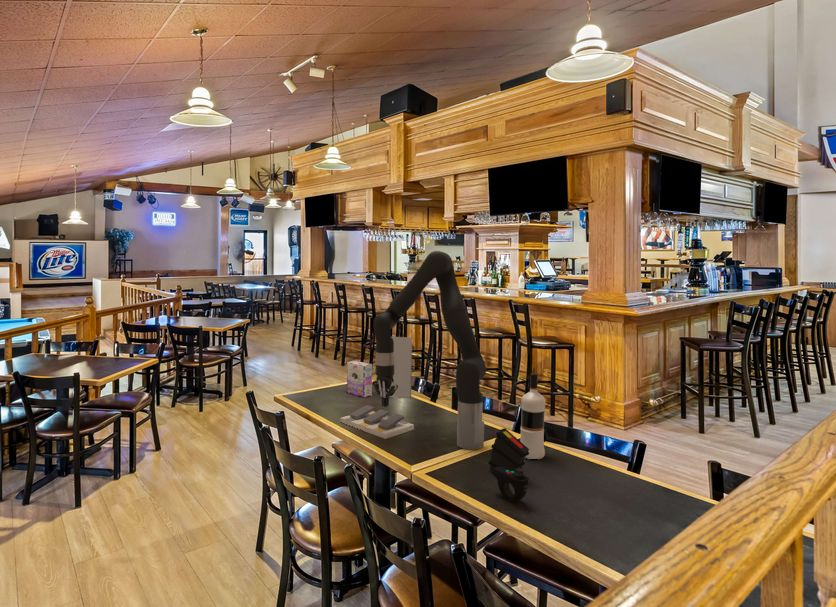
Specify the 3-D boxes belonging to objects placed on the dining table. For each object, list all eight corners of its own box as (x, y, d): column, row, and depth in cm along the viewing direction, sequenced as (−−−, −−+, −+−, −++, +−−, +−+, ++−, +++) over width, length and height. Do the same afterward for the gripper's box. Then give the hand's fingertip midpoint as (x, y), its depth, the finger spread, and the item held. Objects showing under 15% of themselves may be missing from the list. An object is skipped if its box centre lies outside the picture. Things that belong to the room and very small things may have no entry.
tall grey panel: (411, 395, 264) (411, 337, 261) (409, 398, 258) (410, 339, 256) (383, 394, 265) (384, 336, 263) (381, 397, 260) (382, 338, 257)
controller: (520, 508, 146) (522, 474, 145) (488, 492, 156) (489, 460, 155) (530, 504, 149) (531, 470, 148) (498, 489, 159) (499, 457, 158)
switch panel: (413, 429, 212) (414, 423, 212) (385, 438, 201) (385, 432, 200) (368, 414, 231) (368, 408, 231) (340, 422, 220) (340, 416, 219)
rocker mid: (389, 414, 217) (388, 411, 217) (371, 424, 210) (371, 421, 210) (381, 411, 221) (380, 409, 220) (363, 421, 214) (363, 418, 214)
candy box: (372, 396, 262) (372, 364, 261) (363, 398, 258) (363, 365, 257) (355, 390, 272) (355, 360, 270) (346, 392, 267) (346, 361, 266)
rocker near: (404, 418, 211) (403, 415, 211) (386, 430, 204) (386, 427, 204) (395, 415, 215) (395, 413, 214) (378, 427, 208) (377, 424, 207)
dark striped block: (487, 461, 176) (504, 427, 170) (516, 488, 168) (535, 453, 162) (481, 463, 173) (497, 429, 168) (509, 492, 166) (528, 457, 160)
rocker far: (374, 409, 223) (374, 407, 223) (357, 419, 217) (356, 416, 216) (367, 407, 227) (366, 404, 227) (349, 416, 220) (349, 414, 220)
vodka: (512, 453, 187) (515, 372, 185) (531, 449, 192) (534, 369, 190) (531, 462, 180) (534, 377, 177) (550, 457, 185) (553, 374, 182)
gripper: (403, 364, 203) (403, 407, 204) (380, 359, 212) (380, 401, 213) (389, 366, 197) (389, 411, 199) (366, 362, 206) (367, 404, 208)
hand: (385, 406), depth 206 cm, fingers closed
